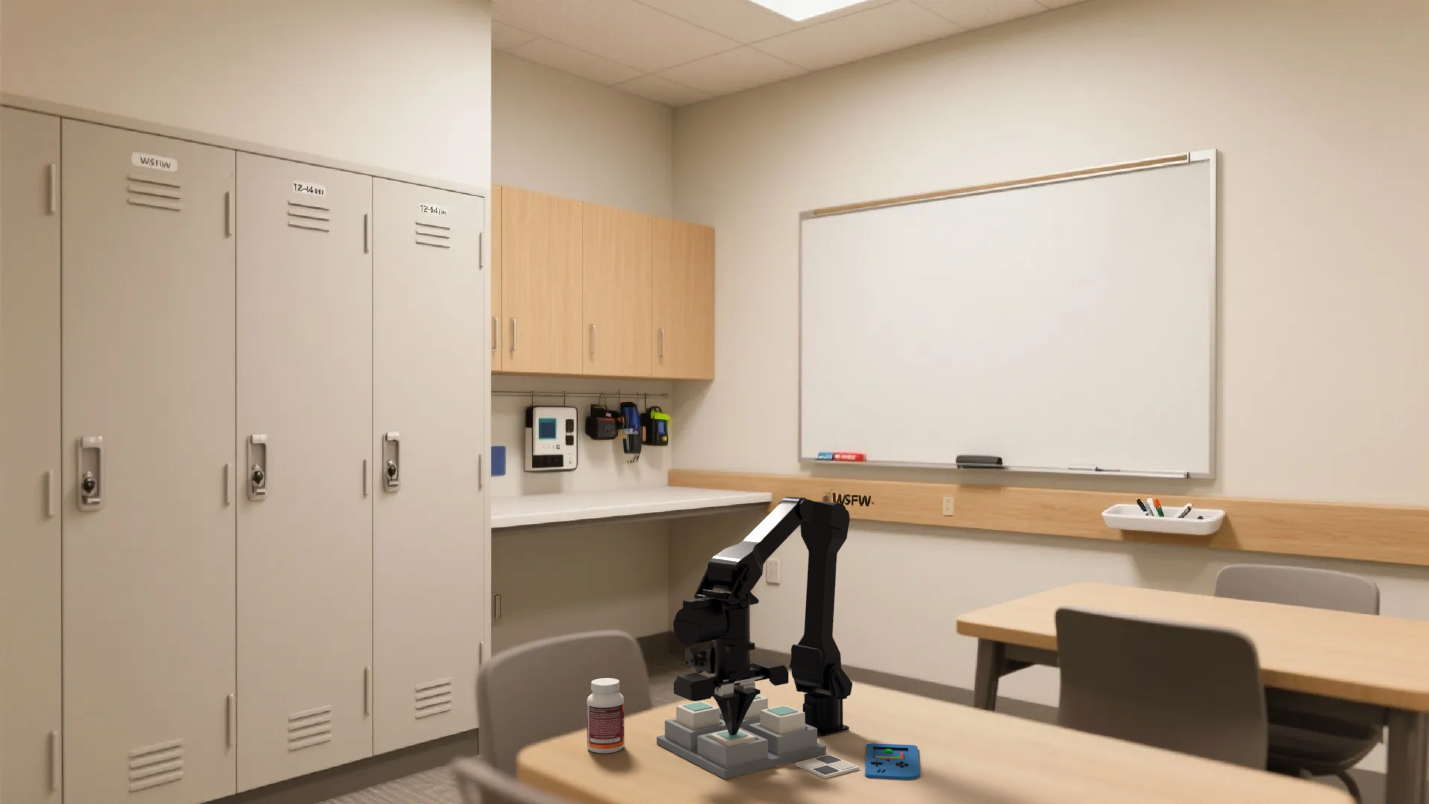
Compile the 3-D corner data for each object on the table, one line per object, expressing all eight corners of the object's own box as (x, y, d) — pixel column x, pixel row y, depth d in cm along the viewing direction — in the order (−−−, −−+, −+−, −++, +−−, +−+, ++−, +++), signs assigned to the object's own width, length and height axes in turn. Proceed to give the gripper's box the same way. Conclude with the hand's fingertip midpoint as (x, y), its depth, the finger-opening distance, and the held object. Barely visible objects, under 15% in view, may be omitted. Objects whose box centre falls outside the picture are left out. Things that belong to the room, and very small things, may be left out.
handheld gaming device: (865, 772, 152) (866, 741, 167) (865, 780, 152) (866, 747, 167) (920, 775, 151) (917, 743, 166) (920, 783, 151) (917, 750, 166)
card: (829, 756, 162) (829, 753, 162) (859, 769, 156) (859, 766, 156) (795, 765, 158) (795, 762, 158) (824, 778, 152) (824, 775, 152)
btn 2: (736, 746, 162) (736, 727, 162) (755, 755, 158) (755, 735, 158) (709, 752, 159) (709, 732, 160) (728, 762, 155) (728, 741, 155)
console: (753, 723, 180) (752, 700, 180) (826, 753, 163) (825, 728, 163) (656, 743, 168) (656, 719, 168) (724, 779, 152) (724, 752, 152)
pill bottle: (631, 750, 166) (631, 682, 166) (597, 757, 162) (597, 688, 162) (613, 739, 171) (613, 674, 171) (580, 746, 167) (580, 680, 167)
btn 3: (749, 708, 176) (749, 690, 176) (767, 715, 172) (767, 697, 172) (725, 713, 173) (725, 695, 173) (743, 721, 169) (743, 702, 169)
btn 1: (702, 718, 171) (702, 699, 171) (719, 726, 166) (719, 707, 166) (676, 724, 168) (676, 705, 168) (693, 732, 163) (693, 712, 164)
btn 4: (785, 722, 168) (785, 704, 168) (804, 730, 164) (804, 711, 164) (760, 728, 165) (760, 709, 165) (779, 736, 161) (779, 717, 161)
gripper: (749, 620, 171) (750, 712, 171) (655, 633, 161) (655, 732, 160) (790, 631, 162) (791, 728, 162) (693, 646, 151) (693, 751, 151)
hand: (732, 734), depth 159 cm, fingers closed, pressing on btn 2
